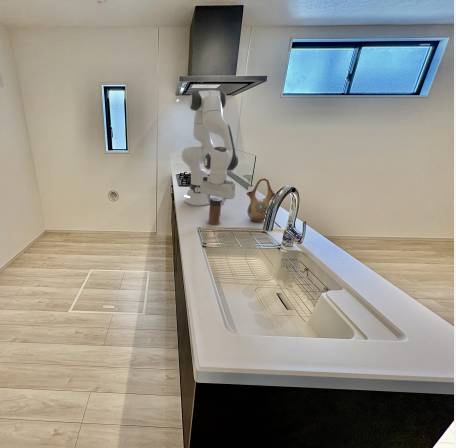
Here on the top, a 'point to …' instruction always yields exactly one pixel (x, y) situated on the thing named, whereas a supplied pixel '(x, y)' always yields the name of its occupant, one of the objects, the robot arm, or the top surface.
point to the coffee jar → (214, 214)
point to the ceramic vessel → (259, 203)
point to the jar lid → (215, 201)
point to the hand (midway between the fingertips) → (215, 203)
